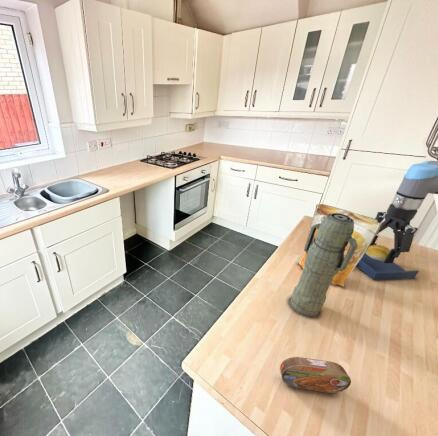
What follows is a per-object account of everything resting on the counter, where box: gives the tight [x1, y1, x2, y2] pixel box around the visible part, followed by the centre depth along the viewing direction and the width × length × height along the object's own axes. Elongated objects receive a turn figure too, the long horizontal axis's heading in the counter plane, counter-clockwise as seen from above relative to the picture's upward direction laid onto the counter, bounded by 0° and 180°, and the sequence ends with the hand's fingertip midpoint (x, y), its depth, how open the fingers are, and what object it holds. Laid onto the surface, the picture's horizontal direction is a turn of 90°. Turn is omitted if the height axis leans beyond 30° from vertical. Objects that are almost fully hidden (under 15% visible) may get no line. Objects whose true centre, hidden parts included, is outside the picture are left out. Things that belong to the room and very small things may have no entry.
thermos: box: [289, 213, 358, 318], centre depth 75 cm, size 9×12×35 cm
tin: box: [279, 356, 352, 394], centre depth 60 cm, size 15×3×8 cm, turn 80°
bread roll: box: [365, 244, 391, 261], centre depth 99 cm, size 8×9×4 cm
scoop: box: [356, 242, 420, 281], centre depth 101 cm, size 26×19×4 cm
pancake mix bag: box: [298, 203, 382, 288], centre depth 91 cm, size 7×19×28 cm, turn 34°
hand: (377, 255), depth 100 cm, fingers closed on bread roll, 9 cm apart
